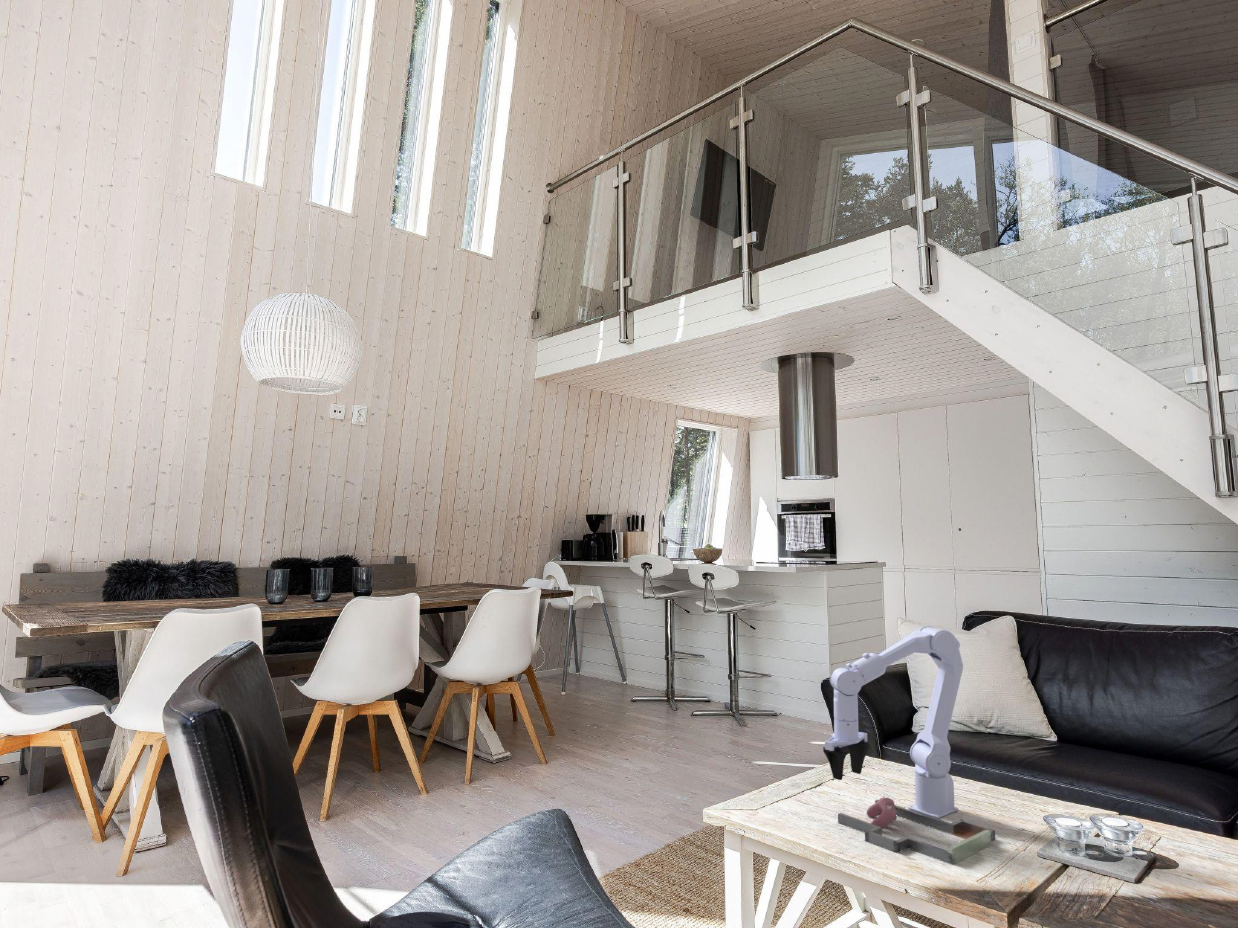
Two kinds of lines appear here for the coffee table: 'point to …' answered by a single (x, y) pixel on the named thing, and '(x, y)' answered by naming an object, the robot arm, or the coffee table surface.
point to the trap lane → (973, 842)
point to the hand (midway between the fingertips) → (847, 775)
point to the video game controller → (882, 812)
